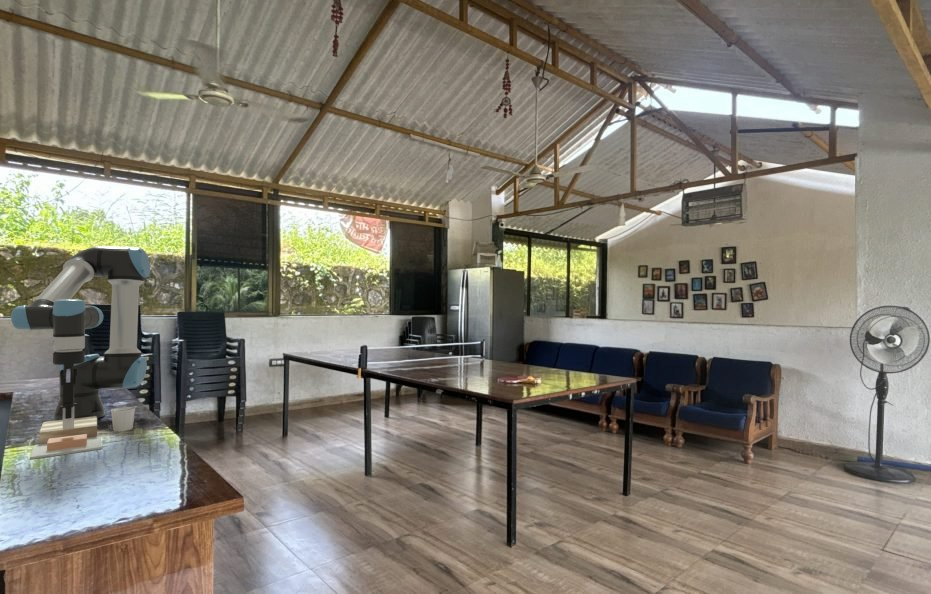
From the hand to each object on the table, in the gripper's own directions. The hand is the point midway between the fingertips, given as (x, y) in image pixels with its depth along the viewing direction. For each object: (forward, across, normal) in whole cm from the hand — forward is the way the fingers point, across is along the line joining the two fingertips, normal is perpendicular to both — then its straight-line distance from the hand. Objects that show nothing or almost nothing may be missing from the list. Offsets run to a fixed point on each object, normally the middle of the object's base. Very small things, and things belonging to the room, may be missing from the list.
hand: (68, 428), depth 149 cm
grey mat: (+5, +3, 0) cm, 6 cm away
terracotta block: (+2, +3, 0) cm, 4 cm away
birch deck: (+5, -13, 0) cm, 14 cm away
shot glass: (+5, -14, +14) cm, 21 cm away
